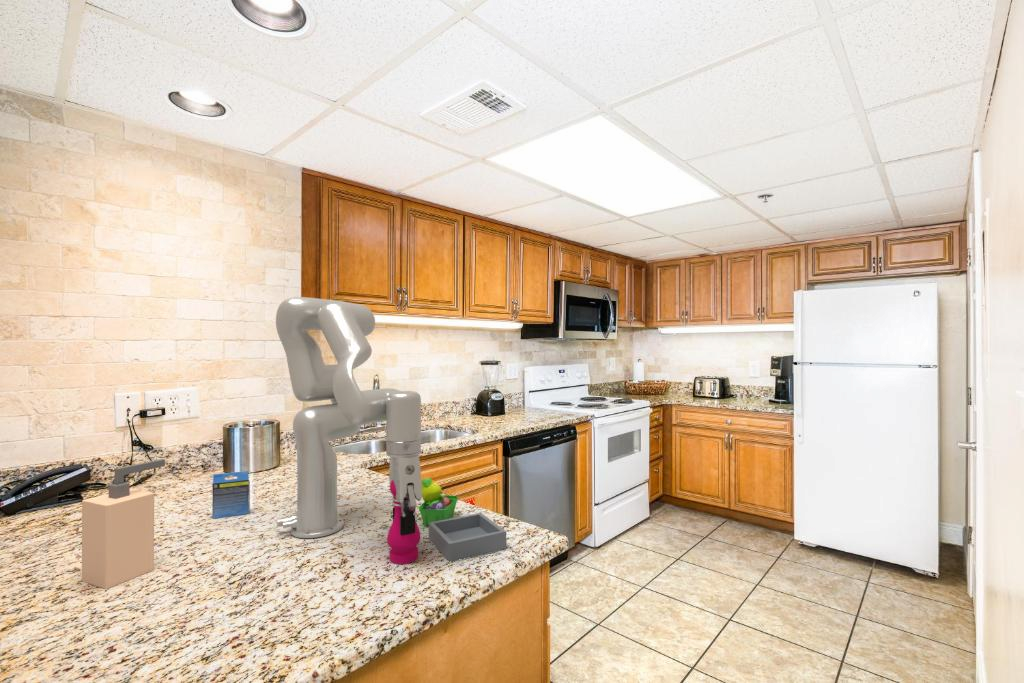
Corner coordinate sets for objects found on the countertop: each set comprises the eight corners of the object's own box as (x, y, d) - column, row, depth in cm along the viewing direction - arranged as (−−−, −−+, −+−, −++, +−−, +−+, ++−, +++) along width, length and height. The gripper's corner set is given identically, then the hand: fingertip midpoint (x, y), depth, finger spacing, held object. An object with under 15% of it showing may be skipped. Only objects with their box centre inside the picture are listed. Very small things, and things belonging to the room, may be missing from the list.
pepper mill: (390, 551, 107) (390, 463, 107) (422, 550, 107) (422, 463, 107) (384, 566, 99) (384, 472, 100) (418, 564, 100) (418, 471, 100)
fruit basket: (445, 529, 119) (445, 485, 119) (413, 527, 121) (412, 483, 121) (459, 514, 130) (459, 473, 131) (429, 512, 132) (429, 472, 132)
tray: (449, 562, 101) (449, 543, 101) (428, 539, 113) (428, 522, 113) (506, 548, 108) (506, 531, 108) (481, 528, 120) (480, 512, 120)
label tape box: (250, 510, 134) (250, 467, 134) (249, 514, 131) (249, 470, 131) (214, 515, 130) (214, 470, 131) (211, 519, 127) (212, 474, 127)
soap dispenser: (106, 589, 90) (106, 475, 91) (81, 581, 94) (81, 471, 94) (175, 561, 102) (175, 460, 102) (150, 554, 105) (151, 457, 106)
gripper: (432, 453, 98) (432, 539, 98) (409, 438, 113) (409, 514, 113) (397, 457, 94) (397, 547, 94) (377, 442, 109) (377, 519, 109)
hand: (403, 528), depth 103 cm, fingers closed on pepper mill, 5 cm apart
